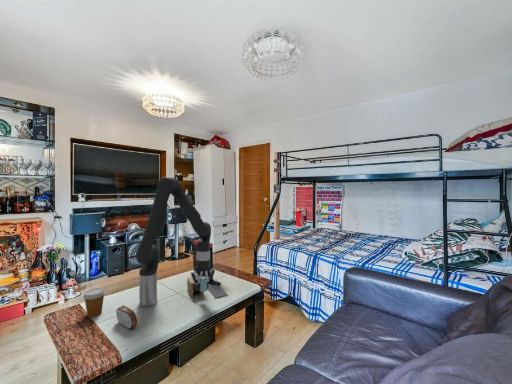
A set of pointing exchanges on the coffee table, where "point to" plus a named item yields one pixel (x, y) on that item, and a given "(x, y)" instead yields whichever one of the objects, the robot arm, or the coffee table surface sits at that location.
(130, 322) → the brown grey rounded block
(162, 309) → the coffee table surface
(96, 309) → the disposable coffee cup
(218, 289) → the mat
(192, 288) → the sleeve
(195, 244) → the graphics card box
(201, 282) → the grey-blue block
